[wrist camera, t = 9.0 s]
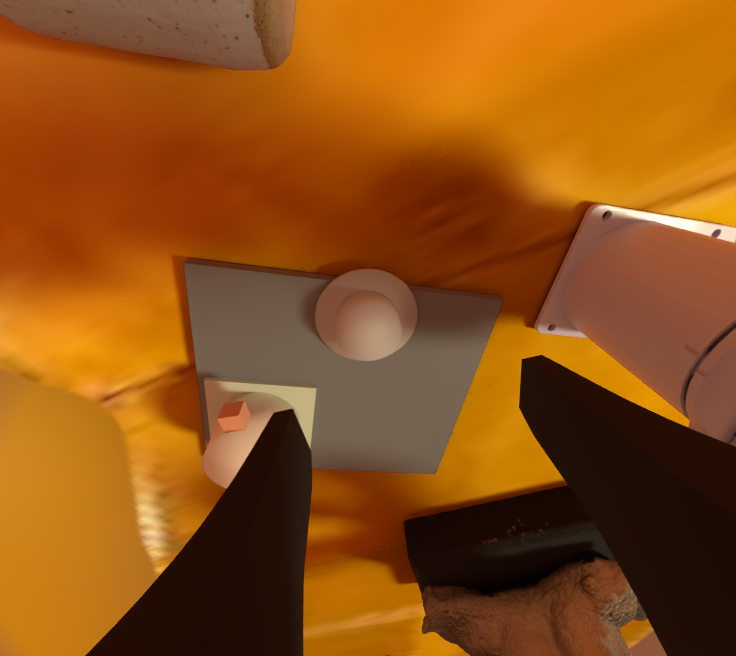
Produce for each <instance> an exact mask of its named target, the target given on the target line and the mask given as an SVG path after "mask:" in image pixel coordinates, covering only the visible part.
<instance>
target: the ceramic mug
mask: <svg viewBox="0 0 736 656" xmlns="http://www.w3.org/2000/svg"><path fill="white" fill-rule="evenodd" d="M295 7H296V0H0V15H2V16H3V17H5V18H7V19H8V20H10V21H11V22H13V23H14V24H16V25H18V26H20V27H22V28H24V29H26V30H29V31H31V32H33V33H36V34H39V35H41V36H44V37H49V38H54V39H60V40H65V41H72V42H79V43H85V44H90V45H96V46H102V47H107V48H113V49H118V50H124V51H130V52H135V53H141V54H146V55H152V56H160V57H168V58H174V59H179V60H184V61H190V62H195V63H200V64H206V65H211V66H216V67H222V68H227V69H232V70H269V69H273V68H277V67H278V66H279V65H281V64H282V63H283V62H284V61H285V60H286V58H287V57H288V56H289V53H290V50H291V46H292V39H293V31H294V20H295Z"/></svg>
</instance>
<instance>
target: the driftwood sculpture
mask: <svg viewBox="0 0 736 656" xmlns="http://www.w3.org/2000/svg"><path fill="white" fill-rule="evenodd" d="M404 530H405V537H406V544H407V551H408V558H409V561H410V564H411V567H412V569H413V572H414V575H415V577H416V580H417V583H418V585H419V588H420V591H421V594H422V600H423V607H424V610H425V614H426V616H425V617H424V619H423V626H422V633H423V634H426V633H428V632H436V633H438V634H439V635H440V636H441V637H442V638H443V639H445V640H446V641H448V642H450V643H454V644H457V645H458V646H460V648H461V649H463V650H464V651H465V652H466V653H468V654H469V655H471V656H633V655H632V653H631V651H630V650H629V648H628V646H627V644H626V642H625V640H624V639H623V637H622V636H621V631H620V627H622V626H624V625H626V624H627V623H629V622H631V621H632V620H637V621H645V620H646V619H648V618H647V616H646V614H645V612H644V610H643V609H642V607H641V605H640V603H639V601H638V599H637V597H636V596H635V594H634V592H633V590H632V588H631V587H630V585H629V583H628V581H627V579H626V578H625V576H624V574H623V572H622V570H621V568H620V567H619V565H618V563H617V561H616V559H615V558H614V556H613V554H612V553H611V551H610V549H609V547H608V546H607V544H606V542H605V541H604V539H603V537H602V535H601V534H600V532H599V530H598V529H597V527H596V525H595V523H594V522H593V520H592V519H591V517H590V516H589V514H588V513H587V511H586V510H585V508H584V506H583V505H582V504H581V502H580V501H579V499H578V498H577V496H576V495H575V494H574V492H573V491H572V489H571V488H570V487H569V486H564V487H559V488H555V489H551V490H545V491H540V492H536V493H532V494H527V495H522V496H518V497H514V498H509V499H504V500H500V501H495V502H490V503H486V504H482V505H477V506H471V507H467V508H462V509H458V510H453V511H449V512H444V513H439V514H435V515H430V516H425V517H421V518H417V519H411V520H407V521H405V522H404Z"/></svg>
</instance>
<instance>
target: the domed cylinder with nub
mask: <svg viewBox="0 0 736 656" xmlns="http://www.w3.org/2000/svg"><path fill="white" fill-rule="evenodd" d="M288 409H293V410H294V412H295V414H296V417H297V419H298V421H299V417H298V414H297V412H296V410H295V409H294V408H293V406H292V405H291V404H289V403H288V402H287V401H285V400H284V399H282V398H280V397H278V396H275V395H272V394H268V393H260V392H254V393H247V394H242V395H239V396H237V397H235V398H233V399H232V400H231V401H229V402H228V403H225V404H224V405H223V407H222V409H221V412H220V414H219V416H218V418H217V419H218V423H217V425H216V427H215V430H214V432H213V434H212V436H211V439H210V441H209V443H208V446H207V448H206V450H205V453H204V455H203V458H202V466H203V469H204V471H205V473H206V475H207V476H208V477H209V478H210V479H211V480H212V481H213V482H215V483H216V484H218V485H219V486H221V487H223V488H226V489H227V488H228V486H229V485H230V483H231V482H232V480H233V479H234V477H235V476H236V474H237V472H238V471H239V469H240V468H241V466H242V464H243V463H244V461H245V460H246V458H247V456H248V455H249V453H250V451H251V450H252V448H253V446H254V445H255V443H256V441H257V440H258V438H259V436H260V435H261V433H262V431H263V429H264V428H265V426H266V424H267V423H268V421H269V419H270V418H271V416H272V415H273V413H274V412H279V411H283V410H288Z"/></svg>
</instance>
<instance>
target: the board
mask: <svg viewBox="0 0 736 656" xmlns="http://www.w3.org/2000/svg"><path fill="white" fill-rule="evenodd" d="M183 264H184V272H185V280H186V288H187V296H188V305H189V313H190V321H191V329H192V337H193V345H194V354H195V362H196V370H197V378H198V386H199V395H200V403H201V411H202V419H203V427H204V435H205V444H206V448H207V446H208V443H209V441H210V439H211V436H212V434H213V432H214V430H215V427H216V425H217V423H218V419H217V418H218V416H219V414H220V412H221V409H222V407H223V405H224V404H225V403H228V402H229V401H231V400H232V399H233V398H235V397H237V396H239V395H242V394H247V393H254V392H260V393H268V394H272V395H275V396H278V397H280V398H282V399H284V400H285V401H287V402H288V403H289V404H291V405H292V406H293V408H294V409H295V410H296V412H297V414H298V417H299V424H300V426H301V428H302V431H303V433H304V435H305V438H306V440H307V442H308V445H309V447H310V449H311V454H312V469H318V470H344V471H369V472H394V473H420V474H436V472H437V469H438V467H439V464H440V462H441V459H442V457H443V454H444V451H445V449H446V446H447V444H448V441H449V439H450V436H451V434H452V431H453V429H454V426H455V423H456V421H457V418H458V416H459V413H460V411H461V408H462V406H463V403H464V401H465V398H466V395H467V393H468V390H469V388H470V385H471V383H472V380H473V378H474V375H475V373H476V370H477V368H478V365H479V362H480V360H481V357H482V355H483V352H484V350H485V347H486V345H487V342H488V340H489V337H490V334H491V332H492V329H493V327H494V324H495V322H496V319H497V317H498V314H499V312H500V309H501V306H502V304H503V300H502V299H501V298H500V297H499V296H498V295H489V294H481V293H473V292H465V291H456V290H448V289H440V288H432V287H423V286H415V285H407V284H405V283H404V282H403V281H402V280H401V279H400V278H398V277H397V276H395V275H393V274H391V273H389V272H386V271H383V270H379V269H373V268H363V269H356V270H352V271H349V272H346V273H344V274H342V275H340V276H332V275H324V274H316V273H308V272H299V271H291V270H283V269H275V268H266V267H258V266H250V265H242V264H233V263H225V262H217V261H209V260H200V259H192V258H189V259H188V260H187V261H185V262H184V263H183Z"/></svg>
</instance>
